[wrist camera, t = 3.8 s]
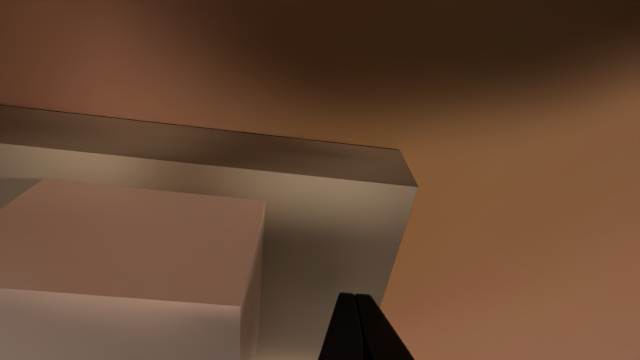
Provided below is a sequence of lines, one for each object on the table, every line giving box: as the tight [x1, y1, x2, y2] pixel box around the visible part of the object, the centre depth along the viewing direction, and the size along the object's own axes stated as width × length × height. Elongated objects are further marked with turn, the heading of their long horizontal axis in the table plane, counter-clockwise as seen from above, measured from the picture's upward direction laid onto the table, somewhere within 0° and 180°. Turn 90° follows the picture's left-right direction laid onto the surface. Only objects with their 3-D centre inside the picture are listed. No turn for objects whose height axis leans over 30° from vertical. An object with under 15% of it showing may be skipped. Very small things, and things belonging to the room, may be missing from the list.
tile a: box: [0, 179, 265, 360], centre depth 8 cm, size 5×5×3 cm
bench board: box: [0, 105, 418, 360], centre depth 12 cm, size 11×14×2 cm
